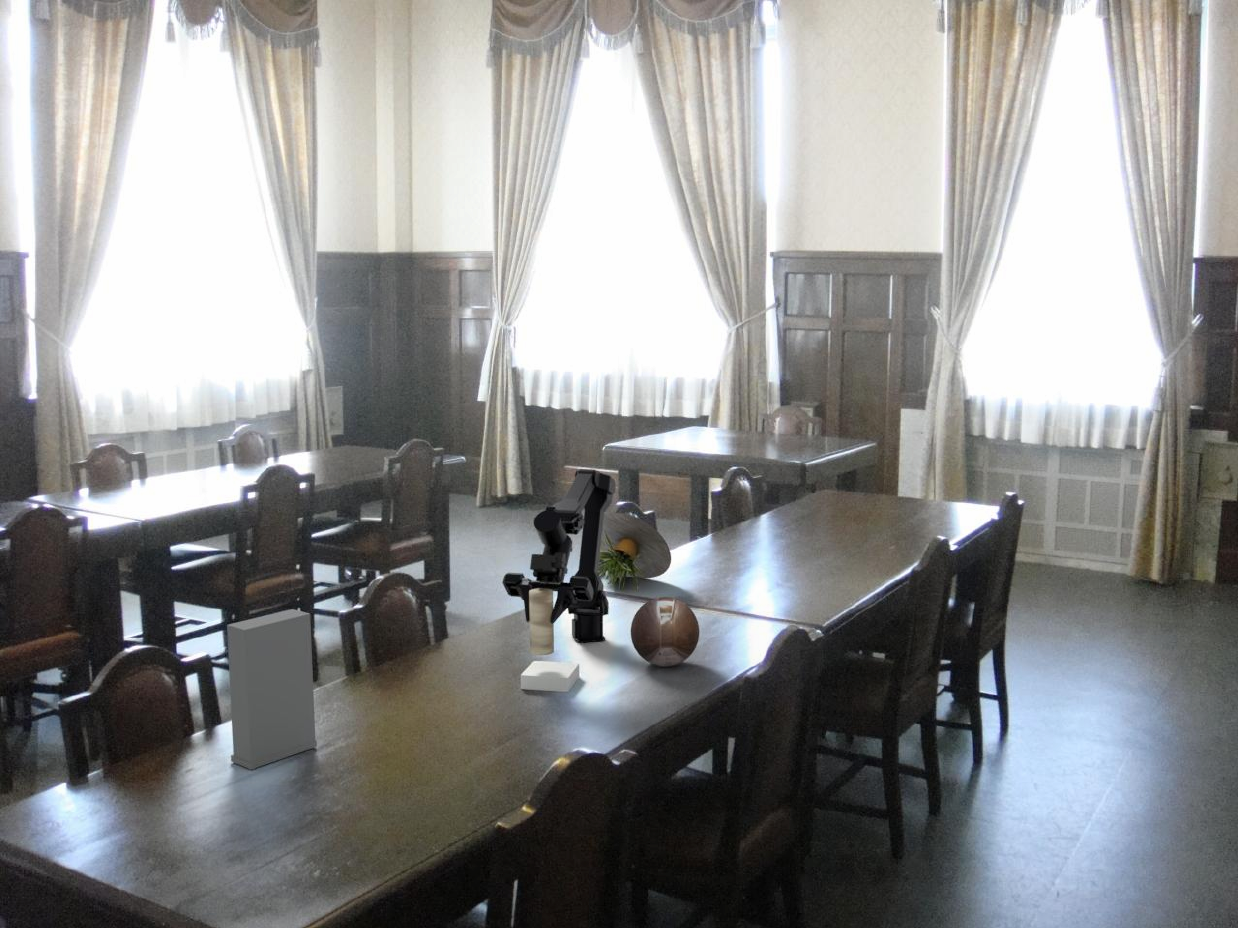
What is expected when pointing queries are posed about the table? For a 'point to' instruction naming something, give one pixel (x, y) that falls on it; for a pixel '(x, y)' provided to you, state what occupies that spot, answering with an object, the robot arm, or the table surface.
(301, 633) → the upright grey box
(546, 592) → the birch column
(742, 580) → the table surface
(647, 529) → the potted plant
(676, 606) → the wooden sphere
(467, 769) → the table surface
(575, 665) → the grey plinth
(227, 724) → the table surface
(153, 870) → the table surface
